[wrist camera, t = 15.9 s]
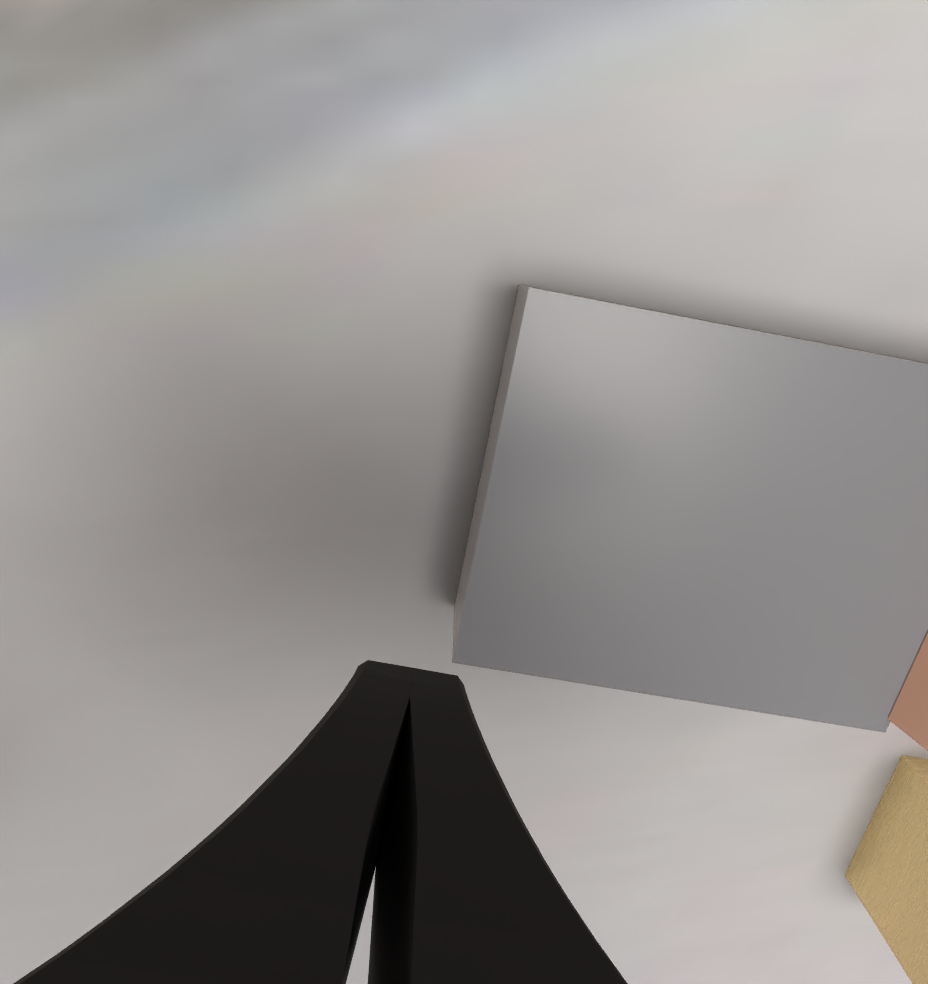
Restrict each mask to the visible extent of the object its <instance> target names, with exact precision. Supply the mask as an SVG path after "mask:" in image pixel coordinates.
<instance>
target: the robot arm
mask: <svg viewBox="0 0 928 984" xmlns="http://www.w3.org/2000/svg"><path fill="white" fill-rule="evenodd" d="M375 867H376V872H375V886H374V901H373V915H372V930H371V944H370V959H369V974H368V984H627V982H626V981H625V980H624V978H623V977H622V975H621V974H620V973H619V971H618V970H617V968H616V967H615V966H614V964H613V963H612V962H611V960H610V959H609V957H608V956H607V955H606V953H605V952H604V950H603V949H602V948H601V946H600V945H599V943H598V942H597V941H596V939H595V938H594V936H593V935H592V933H591V932H590V930H589V929H588V927H587V926H586V924H585V923H584V921H583V920H582V918H581V917H580V915H579V914H578V912H577V911H576V909H575V908H574V906H573V905H572V903H571V902H570V900H569V899H568V897H567V895H566V894H565V892H564V891H563V889H562V888H561V886H560V884H559V883H558V881H557V880H556V878H555V876H554V875H553V873H552V871H551V870H550V868H549V866H548V865H547V863H546V861H545V860H544V858H543V856H542V854H541V852H540V851H539V849H538V847H537V845H536V844H535V842H534V840H533V838H532V837H531V835H530V833H529V831H528V829H527V828H526V826H525V824H524V822H523V820H522V818H521V817H520V815H519V813H518V811H517V809H516V807H515V805H514V803H513V801H512V799H511V797H510V795H509V793H508V791H507V789H506V787H505V785H504V783H503V781H502V779H501V777H500V774H499V772H498V770H497V768H496V766H495V764H494V762H493V760H492V758H491V755H490V753H489V751H488V749H487V746H486V744H485V742H484V739H483V737H482V734H481V732H480V730H479V727H478V725H477V722H476V720H475V717H474V714H473V712H472V709H471V706H470V703H469V700H468V697H467V694H466V691H465V688H464V684H463V683H462V682H461V680H460V679H459V677H458V676H456V675H450V674H445V673H439V672H433V671H427V670H422V669H416V668H410V667H404V666H399V665H393V664H387V663H381V662H376V661H370V660H368V661H366V662H364V663H363V664H361V665H359V666H358V668H357V670H356V672H355V674H354V675H353V677H352V679H351V680H350V682H349V683H348V685H347V686H346V688H345V689H344V691H343V692H342V693H341V695H340V696H339V698H338V699H337V700H336V702H335V703H334V704H333V705H332V707H331V708H330V709H329V711H328V712H327V713H326V715H325V716H324V717H323V718H322V719H321V721H320V722H319V723H318V724H317V725H316V726H315V728H314V729H313V730H312V731H311V732H310V733H309V735H308V736H307V737H306V738H305V739H304V740H303V742H302V743H301V744H300V745H299V746H298V747H297V749H296V750H295V751H294V752H293V753H292V754H291V755H290V756H289V757H288V759H287V760H286V761H285V762H284V763H283V764H282V765H281V766H280V767H279V768H278V769H277V770H276V771H275V772H274V773H273V774H272V775H271V776H270V777H269V778H268V779H267V780H266V781H265V782H264V783H263V784H262V785H261V786H260V787H259V788H258V789H257V790H256V791H255V792H254V793H253V794H252V795H251V796H250V797H249V798H248V799H247V800H246V801H245V802H244V803H243V804H242V805H241V806H240V807H239V808H238V809H237V810H236V811H235V812H234V813H233V814H232V815H230V816H229V817H228V818H227V819H226V820H225V821H224V822H223V823H222V824H221V825H220V826H219V827H217V828H216V829H215V830H214V831H213V832H212V833H211V834H210V835H209V836H207V837H206V838H205V839H204V840H203V841H202V842H201V843H199V844H198V845H197V846H196V847H195V848H193V849H192V850H191V851H190V852H189V853H188V854H186V855H185V856H184V857H183V858H182V859H181V860H179V861H178V862H177V863H176V864H175V865H174V866H172V867H171V868H170V869H169V870H167V871H166V872H165V873H164V874H163V875H161V876H160V877H159V878H157V879H156V880H155V881H154V882H152V883H151V884H150V885H148V886H147V887H146V888H145V889H143V890H142V891H141V892H139V893H138V894H137V895H136V896H134V897H133V898H132V899H130V900H129V901H128V902H127V903H125V904H124V905H123V906H122V907H120V908H119V909H118V910H116V911H115V912H114V913H113V914H111V915H110V916H109V917H107V918H106V919H105V920H103V921H102V922H101V923H99V924H98V925H97V926H95V927H94V928H93V929H91V930H90V931H89V932H87V933H86V934H84V935H83V936H82V937H80V938H79V939H78V940H76V941H75V942H74V943H72V944H71V945H69V946H68V947H67V948H65V949H64V950H62V951H61V952H60V953H58V954H57V955H55V956H54V957H52V958H51V959H49V960H48V961H46V962H45V963H43V964H42V965H40V966H39V967H37V968H36V969H34V970H33V971H31V972H30V973H29V974H27V975H26V976H24V977H23V978H21V979H20V980H18V981H17V982H15V983H14V984H346V980H347V976H348V972H349V969H350V965H351V961H352V957H353V953H354V949H355V945H356V941H357V937H358V934H359V930H360V926H361V922H362V918H363V914H364V910H365V906H366V902H367V898H368V894H369V891H370V887H371V883H372V879H373V875H374V871H375Z"/></svg>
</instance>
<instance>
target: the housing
mask: <svg viewBox="0 0 928 984" xmlns="http://www.w3.org/2000/svg"><path fill="white" fill-rule="evenodd" d="M927 633H928V363H922V362H917V361H912V360H907V359H902V358H897V357H891V356H886V355H881V354H876V353H871V352H865V351H860V350H855V349H850V348H845V347H840V346H834V345H829V344H824V343H819V342H814V341H808V340H803V339H798V338H793V337H788V336H782V335H777V334H772V333H767V332H762V331H757V330H751V329H746V328H741V327H736V326H731V325H725V324H720V323H715V322H710V321H705V320H700V319H694V318H689V317H684V316H679V315H674V314H668V313H663V312H658V311H653V310H648V309H642V308H637V307H632V306H627V305H622V304H617V303H611V302H606V301H601V300H596V299H591V298H585V297H580V296H575V295H570V294H565V293H560V292H554V291H549V290H544V289H539V288H534V287H528V286H523V285H519V287H518V292H517V297H516V302H515V307H514V312H513V317H512V322H511V327H510V332H509V337H508V342H507V347H506V352H505V357H504V362H503V367H502V372H501V377H500V382H499V387H498V392H497V397H496V402H495V407H494V412H493V417H492V422H491V427H490V432H489V437H488V442H487V447H486V452H485V457H484V462H483V467H482V472H481V477H480V482H479V487H478V492H477V497H476V502H475V507H474V512H473V517H472V522H471V527H470V532H469V537H468V542H467V547H466V552H465V557H464V562H463V567H462V572H461V577H460V582H459V587H458V592H457V597H456V602H455V607H454V629H453V655H452V662H453V663H459V664H465V665H471V666H477V667H484V668H490V669H496V670H502V671H508V672H514V673H521V674H527V675H533V676H539V677H545V678H552V679H558V680H564V681H570V682H576V683H583V684H589V685H595V686H601V687H607V688H613V689H620V690H626V691H632V692H638V693H644V694H651V695H657V696H663V697H669V698H675V699H681V700H688V701H694V702H700V703H706V704H712V705H719V706H725V707H731V708H737V709H743V710H749V711H756V712H762V713H768V714H774V715H780V716H787V717H793V718H799V719H805V720H811V721H817V722H824V723H830V724H836V725H842V726H848V727H855V728H861V729H867V730H873V731H879V732H886V730H887V728H888V726H889V723H890V720H888V718H889V716H890V714H891V711H892V709H893V707H894V705H895V703H896V700H897V698H898V696H899V694H900V692H901V690H902V687H903V685H904V683H905V681H906V679H907V676H908V674H909V672H910V670H911V668H912V666H913V663H914V661H915V659H916V657H917V655H918V652H919V650H920V648H921V646H922V644H923V641H924V639H925V637H926V635H927Z"/></svg>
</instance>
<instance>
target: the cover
mask: <svg viewBox="0 0 928 984" xmlns="http://www.w3.org/2000/svg"><path fill="white" fill-rule="evenodd" d="M888 720H890V721H891V722H892V723H893V724H895V725H896V726H897V727H899V728H900V729H901V730H902V731H904V732H905V733H906V734H907V735H909V736H910V737H911V738H912V739H914V740H915V741H916V742H917V743H919V744H920V745H921V746H923V747H924V748H925V749H926V750H928V633H927V635H926V637H925V639H924V641H923V644H922V646H921V648H920V650H919V652H918V655H917V657H916V659H915V661H914V663H913V666H912V668H911V670H910V672H909V674H908V676H907V679H906V681H905V683H904V685H903V687H902V690H901V692H900V694H899V696H898V698H897V700H896V703H895V705H894V707H893V709H892V711H891V714H890V716H889V718H888Z"/></svg>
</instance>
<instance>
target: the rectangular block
mask: <svg viewBox="0 0 928 984" xmlns="http://www.w3.org/2000/svg"><path fill="white" fill-rule="evenodd" d="M845 876H846V878H847V880H848V881H849V883H850V884H851V886H852V888H853V889H854V891H855V892H856V894H857V896H858V897H859V899H860V900H861V902H862V904H863V905H864V907H865V908H866V910H867V912H868V913H869V915H870V916H871V918H872V919H873V921H874V923H875V924H876V926H877V927H878V929H879V931H880V932H881V934H882V935H883V937H884V939H885V940H886V942H887V943H888V945H889V947H890V948H891V950H892V951H893V953H894V955H895V956H896V958H897V959H898V961H899V963H900V964H901V966H902V967H903V969H904V971H905V972H906V974H907V975H908V977H909V979H910V980H911V982H912V983H913V984H928V759H921V758H915V757H909V756H903V755H902V756H901V758H900V760H899V762H898V765H897V767H896V769H895V771H894V773H893V775H892V777H891V779H890V781H889V783H888V786H887V788H886V790H885V792H884V794H883V796H882V798H881V800H880V802H879V804H878V807H877V809H876V811H875V813H874V815H873V817H872V819H871V821H870V823H869V825H868V828H867V830H866V832H865V834H864V836H863V838H862V840H861V842H860V844H859V846H858V849H857V851H856V853H855V855H854V857H853V859H852V861H851V863H850V865H849V868H848V870H847V872H846V874H845Z"/></svg>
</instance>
